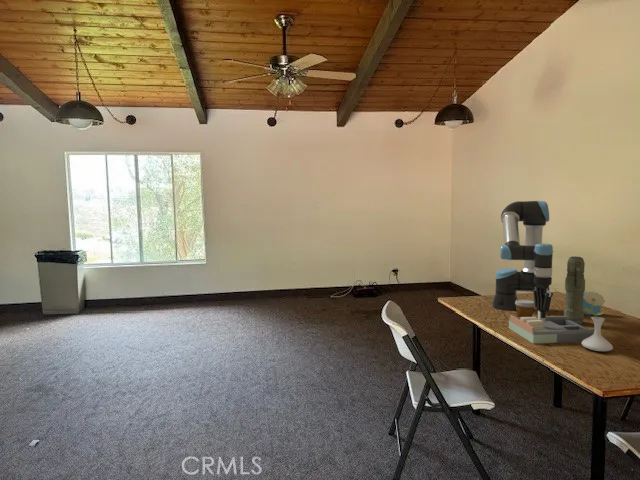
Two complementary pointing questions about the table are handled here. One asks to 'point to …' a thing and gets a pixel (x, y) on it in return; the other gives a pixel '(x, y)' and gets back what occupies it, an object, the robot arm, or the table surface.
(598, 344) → the flower in vase
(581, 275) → the thermos
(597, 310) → the data package
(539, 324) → the birch block
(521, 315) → the disposable coffee cup
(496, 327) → the table surface
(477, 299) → the table surface
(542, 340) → the box
